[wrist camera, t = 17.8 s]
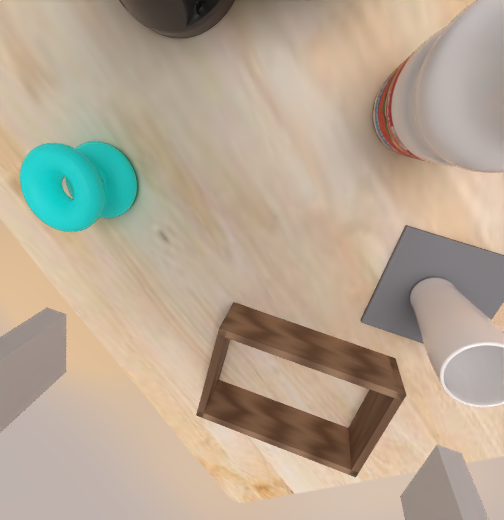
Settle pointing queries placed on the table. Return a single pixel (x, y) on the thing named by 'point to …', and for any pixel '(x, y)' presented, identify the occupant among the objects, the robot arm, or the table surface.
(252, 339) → the walnut open box frame
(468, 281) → the charcoal mat
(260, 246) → the table surface
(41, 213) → the donuts
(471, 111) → the fruit juice
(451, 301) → the drinking glass
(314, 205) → the table surface
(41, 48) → the table surface
